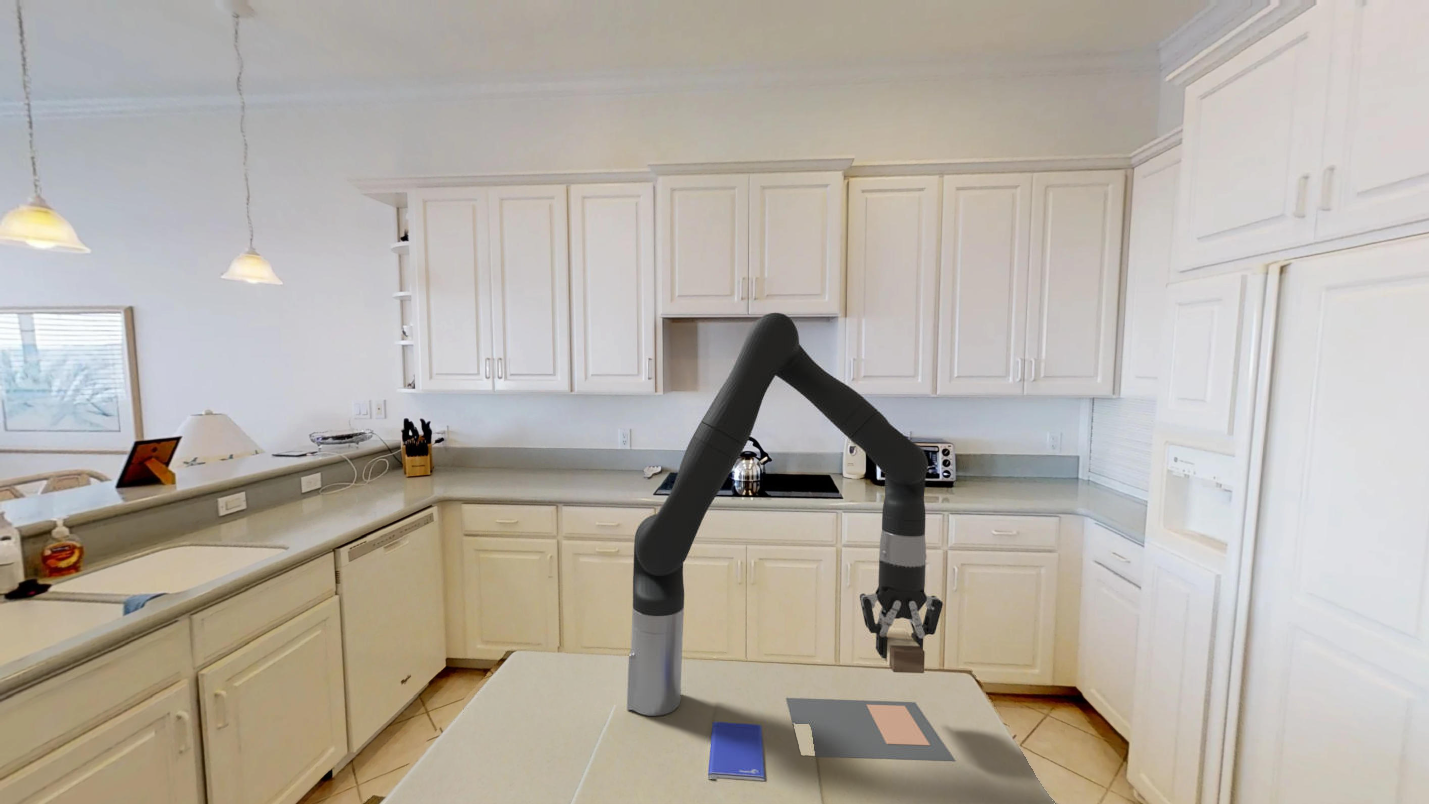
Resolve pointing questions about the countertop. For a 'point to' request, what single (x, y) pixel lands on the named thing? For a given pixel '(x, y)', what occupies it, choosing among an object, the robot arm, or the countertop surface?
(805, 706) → the rubber mat
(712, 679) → the countertop surface
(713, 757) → the hard drive
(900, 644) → the beige rectangular block
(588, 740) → the countertop surface
